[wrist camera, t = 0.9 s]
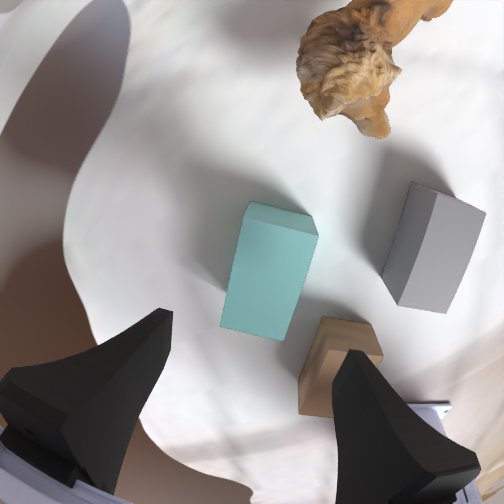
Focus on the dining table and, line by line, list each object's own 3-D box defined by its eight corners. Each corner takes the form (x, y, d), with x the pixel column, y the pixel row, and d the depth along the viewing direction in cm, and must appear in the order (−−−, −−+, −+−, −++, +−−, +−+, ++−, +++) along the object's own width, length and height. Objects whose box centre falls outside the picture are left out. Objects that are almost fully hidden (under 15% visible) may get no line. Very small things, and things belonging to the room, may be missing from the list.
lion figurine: (342, 149, 17) (393, 163, 9) (269, 100, 16) (257, 67, 8) (442, 4, 12) (511, -40, 4) (381, -41, 11) (423, -107, 3)
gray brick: (424, 285, 20) (445, 313, 16) (380, 276, 20) (397, 305, 16) (455, 197, 17) (486, 212, 14) (410, 181, 17) (437, 193, 14)
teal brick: (283, 307, 22) (283, 341, 18) (229, 294, 22) (219, 326, 18) (311, 216, 19) (318, 236, 15) (250, 200, 19) (243, 217, 15)
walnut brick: (340, 384, 24) (345, 418, 21) (297, 379, 24) (298, 414, 21) (370, 323, 22) (383, 356, 18) (322, 315, 22) (329, 349, 18)
